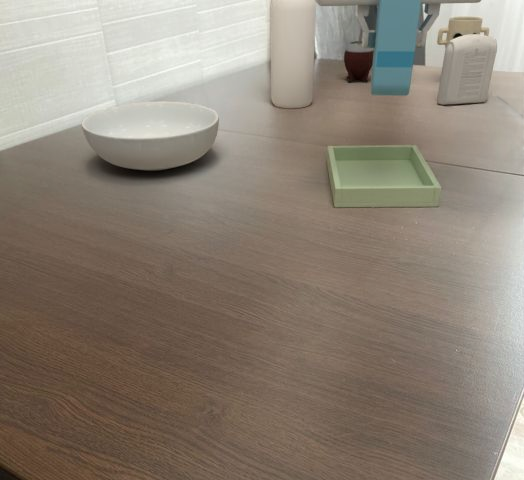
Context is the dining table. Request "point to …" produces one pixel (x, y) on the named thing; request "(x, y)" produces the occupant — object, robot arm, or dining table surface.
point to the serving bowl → (151, 134)
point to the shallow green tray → (381, 177)
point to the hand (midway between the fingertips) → (392, 47)
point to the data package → (394, 46)
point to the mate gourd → (358, 60)
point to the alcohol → (292, 52)
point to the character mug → (461, 28)
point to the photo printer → (467, 69)
